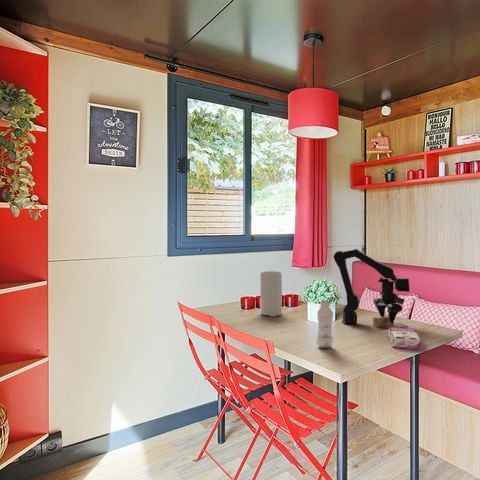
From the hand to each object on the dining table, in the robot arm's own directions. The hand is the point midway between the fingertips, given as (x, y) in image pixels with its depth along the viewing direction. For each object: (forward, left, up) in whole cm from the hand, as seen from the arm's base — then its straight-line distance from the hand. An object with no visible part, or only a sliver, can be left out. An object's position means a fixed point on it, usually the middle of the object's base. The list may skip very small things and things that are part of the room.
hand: (387, 320), depth 194 cm
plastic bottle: (-44, -27, -3) cm, 51 cm away
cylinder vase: (-54, +36, -3) cm, 65 cm away
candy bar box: (-4, -19, -1) cm, 19 cm away
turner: (+1, 0, -3) cm, 3 cm away
